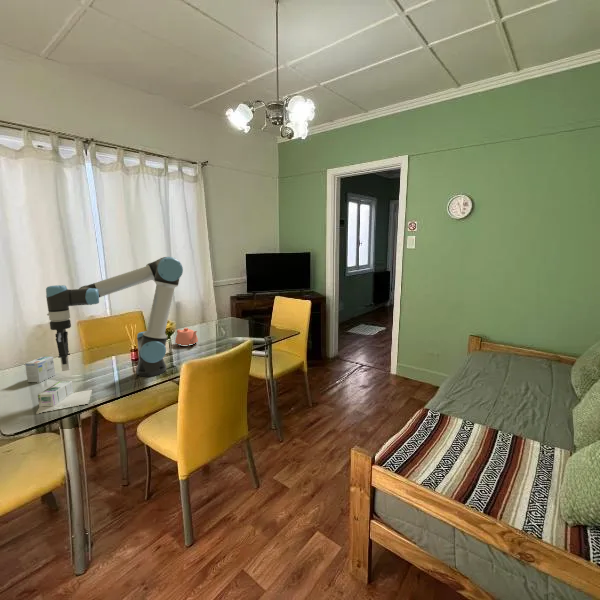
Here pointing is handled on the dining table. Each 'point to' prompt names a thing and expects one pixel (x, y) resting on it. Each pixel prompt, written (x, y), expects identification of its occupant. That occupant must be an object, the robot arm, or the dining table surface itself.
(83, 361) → the dining table surface
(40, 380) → the light bulb box
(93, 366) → the dining table surface
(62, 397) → the syrup box
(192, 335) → the teapot
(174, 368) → the dining table surface
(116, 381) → the dining table surface
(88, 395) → the mat
